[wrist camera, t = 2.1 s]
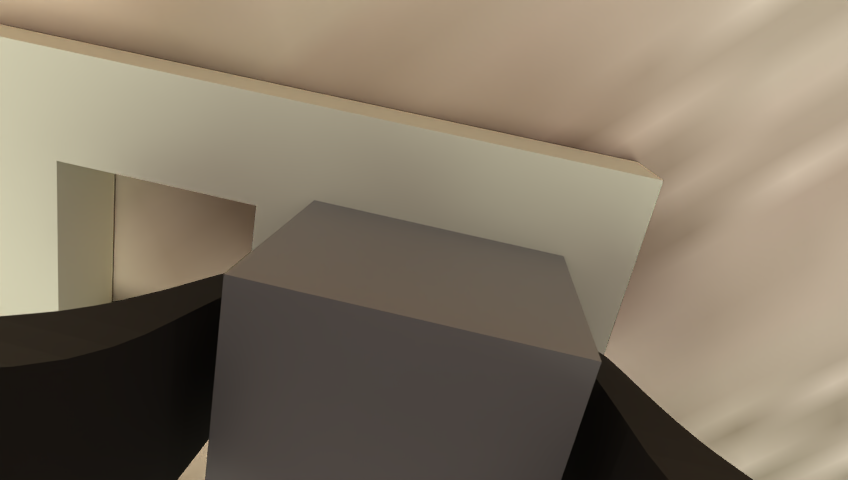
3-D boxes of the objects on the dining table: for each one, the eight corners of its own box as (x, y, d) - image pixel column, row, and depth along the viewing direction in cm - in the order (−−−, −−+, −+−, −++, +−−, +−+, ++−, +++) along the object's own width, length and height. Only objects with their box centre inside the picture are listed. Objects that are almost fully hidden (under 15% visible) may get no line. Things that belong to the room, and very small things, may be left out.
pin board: (638, 162, 13) (725, 225, 8) (484, 635, 18) (481, 849, 13) (-194, -18, 14) (-559, -58, 9) (-124, 480, 18) (-335, 626, 14)
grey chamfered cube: (563, 256, 12) (601, 361, 8) (501, 463, 13) (506, 638, 9) (314, 200, 12) (223, 273, 8) (285, 410, 13) (198, 559, 9)
